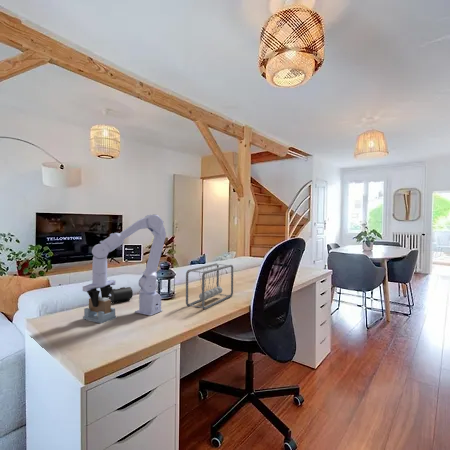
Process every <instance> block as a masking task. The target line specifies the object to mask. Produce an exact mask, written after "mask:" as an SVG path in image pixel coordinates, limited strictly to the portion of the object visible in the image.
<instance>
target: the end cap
mask: <svg viewBox="0 0 450 450" xmlns="http://www.w3.org/2000/svg"><path fill="white" fill-rule="evenodd" d="M133 294H134V292H133V289H132V287H131V286H128V287H127V286H123V287H119V288H117V289H116V288H112V290H111V292H110V294H109V297H108V298H109V300H111V302H112V303H111V304H116V302H117V303H120V302H121V301H122V302H126V301H130V300H131V299H133ZM110 295H111V296H110ZM125 300H126V301H125Z"/></svg>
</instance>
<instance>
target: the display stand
mask: <svg viewBox="0 0 450 450" xmlns="http://www.w3.org/2000/svg"><path fill="white" fill-rule="evenodd" d="M83 310H84V315H83V316H82V320H85V319H86V320H85V321H88V322H89V321H90V322H94V323H97V324H103V323H106V322H109V321H112V320H114V319H117V315H116V308H115V307H111V312H110V313H107V314H104V312H102V311H99V312H94V311H90V309H89V307H85V308H84V309H83Z"/></svg>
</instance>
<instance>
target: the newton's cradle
mask: <svg viewBox="0 0 450 450" xmlns="http://www.w3.org/2000/svg"><path fill="white" fill-rule="evenodd" d="M228 268H231V270H230V282H231V283H230V286H231V287H230V294H224V293H222V292H223V287H222V286H221V285H220V283H221V280H222V279H220V277H219V276H222V274H223V273H219V272H220V271H222V270H224V269H228ZM191 272H193V273H199V275H201V273H202V275H201V278H200V279H199V281H200V282H201V284H200V286H201V287H200V288H201V293H200V294H199V295H198V298H199V299H197V300H195V301H192V302H190V303H189V274H190V273H191ZM209 273H210V275H209ZM215 274H216V283H215V282H214V281H215V278H212V280H213V281H212V286H210V285H208V286H207V283H206V282H207V279H206V277H207V276H208V277H211V276H212V277H214V276H215ZM219 274H221V275H219ZM208 281H209V282H208V284H211V282H210V281H211V279H208ZM219 281H220V282H219ZM214 283H215V285H216V286H214ZM206 286H207V287H208V288H206ZM209 287H210V289H209ZM205 290H206V291H205ZM233 294H234V266H233V264H224V265H223V264H219V263H216V262H215V263H212V264H208V265H204V266H198V267H195V268H191V269H188V270H187V271H186V273H185V305H186V306H187V307H191V306H192V307H197V308H201V309H203V310H206V309H208V308H210V307H213V306H215V305H217V304H219V303H221V302H223V301H225V300H227V299H230V298H232V296H233ZM217 295H220V296H225V297H223V298H221V299H219V300H216V301H214V302H212V303H209V304H207V305H206V306H205V300H207V299H210V298H212V297H214V296H217ZM200 302H201V306H200V305H199V306H198V305H196V304H197V303H200Z"/></svg>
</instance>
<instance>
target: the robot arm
mask: <svg viewBox="0 0 450 450" xmlns="http://www.w3.org/2000/svg"><path fill="white" fill-rule="evenodd" d="M142 229H148V230H149V231H150V232H151V234H152V235H153V239H152V244H151V247H150V251H149V255H148V258H147V262H146V265H145V269H144V271H143V273H142V275H141V277H140V278H139V280H138V286H139V288H140V290H139V291H138V292H139V293H138V295H139V296H138V299H139V300H138V303H139V305H138V306H139V307H138V309H136V310H135V311H134V313H137V314H141V315H147V316H153V315H155V314H158V313H160V312H162V311H163V309H162V296H161V294H159V293H158V292H157V288H158V283H157V279H158V274H157V272H158V267H159V265H160V264H159V263H160V260H161V256H162V253H163V250H164V249H163V248H164V244H165V242H166V237H167V232H166V229H165V225H164V220H163V219H162V218H161V216H160V215H158V214H147V215H145V216H144V217H142V218H139V219H138V220H136V221H134V222H133V223H132V224H131V225H130V226H128V227H126V228H125V229H123V230H122V231H121V232H120V233H119V232H114V233H113V232H112V233H110V234H109V236H108V237H107V238H105V239H103V240H100V241H99V243H98V244H95V245H94V246H93V247H92V249H91V254H92V255H93V257H92V265H91V266H92V267H91V269H92V273H91V275H92V281H91V283H89V284H86V285H82V292H84V293H85V292H86V293H87V294H88V296H89V298H91V301H92V305H93V307H98V297H99V296H100V294H101V296H100V297H101V298H102V297H105V298H109V296H110V295H111V294H110V292H111V290H112V289H113V286H115V285H116V283H117V282H116V280H114V279H110V280H108V255H109V253H111V252H113V251H115V249H118V248H119V247H120V246H121V245H124V241H125V239H127V238H128V237H130V236H132V235H133V234H135V233H136V232H138V231H139V230H142Z"/></svg>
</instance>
